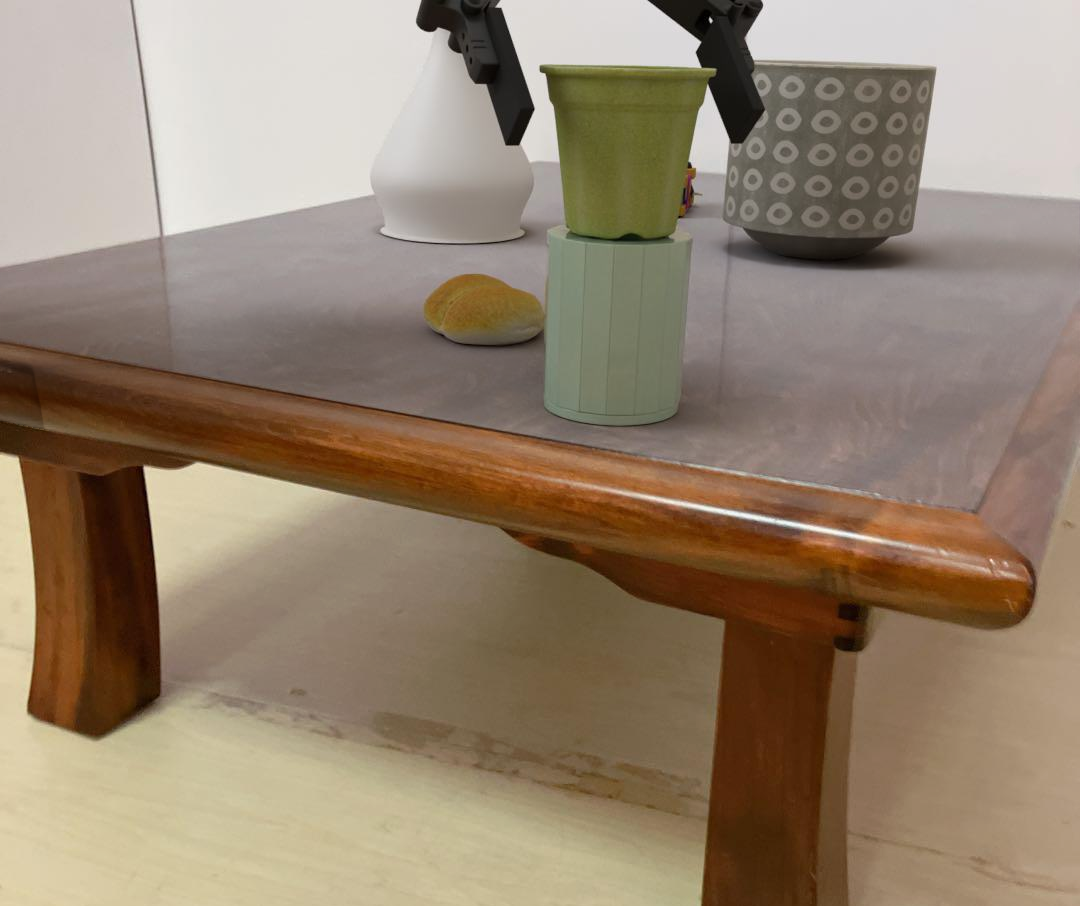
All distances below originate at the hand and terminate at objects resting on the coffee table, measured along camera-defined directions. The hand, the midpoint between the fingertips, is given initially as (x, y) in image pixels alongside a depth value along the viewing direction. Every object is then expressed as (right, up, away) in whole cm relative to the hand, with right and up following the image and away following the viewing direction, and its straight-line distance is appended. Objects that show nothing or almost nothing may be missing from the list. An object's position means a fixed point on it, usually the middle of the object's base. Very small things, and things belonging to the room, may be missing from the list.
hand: (639, 128), depth 62 cm
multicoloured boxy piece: (+8, +20, +88) cm, 90 cm away
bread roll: (-9, -7, +24) cm, 26 cm away
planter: (+23, +8, +59) cm, 64 cm away
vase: (-15, +12, +66) cm, 68 cm away
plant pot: (-1, -5, +4) cm, 6 cm away
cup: (-1, -14, +8) cm, 16 cm away
